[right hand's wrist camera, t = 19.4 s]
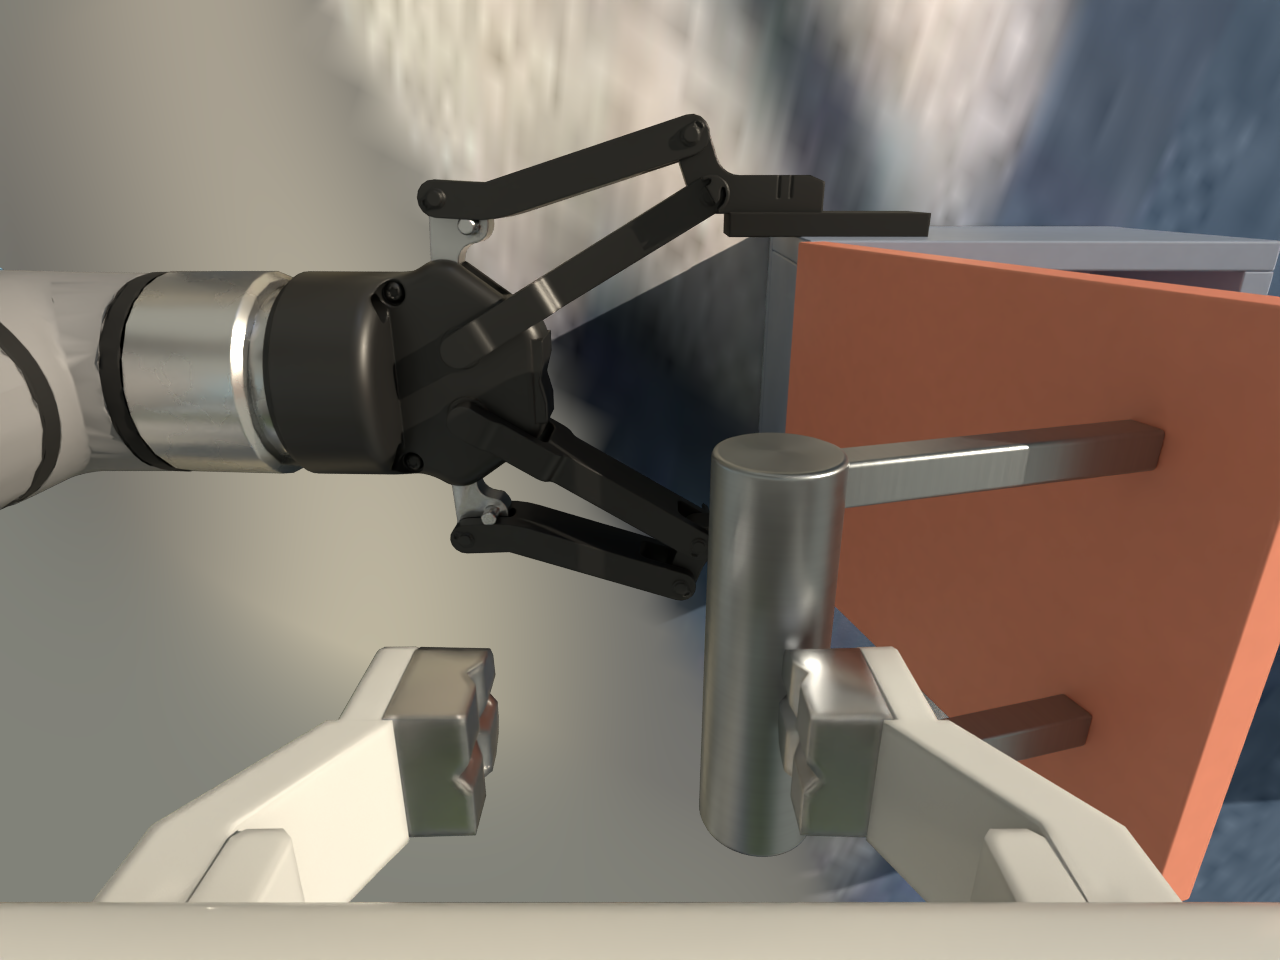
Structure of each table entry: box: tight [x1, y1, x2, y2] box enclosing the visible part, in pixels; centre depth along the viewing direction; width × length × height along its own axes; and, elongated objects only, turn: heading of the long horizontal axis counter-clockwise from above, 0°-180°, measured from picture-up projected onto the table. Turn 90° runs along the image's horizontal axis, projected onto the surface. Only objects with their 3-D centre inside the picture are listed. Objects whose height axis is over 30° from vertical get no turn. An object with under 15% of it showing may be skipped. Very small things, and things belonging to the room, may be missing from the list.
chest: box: [759, 226, 1280, 433], centre depth 29 cm, size 14×10×10 cm
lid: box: [699, 241, 1280, 901], centre depth 17 cm, size 15×10×8 cm
